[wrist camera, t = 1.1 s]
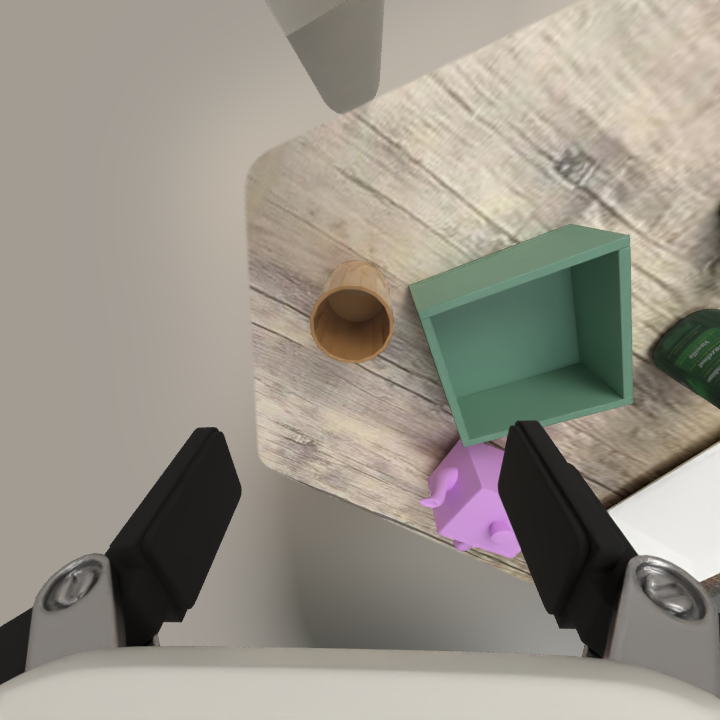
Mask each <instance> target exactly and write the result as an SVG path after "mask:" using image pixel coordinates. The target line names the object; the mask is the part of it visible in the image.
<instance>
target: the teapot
mask: <svg viewBox="0 0 720 720" xmlns="http://www.w3.org/2000/svg"><path fill="white" fill-rule="evenodd" d="M503 456H504V451H502V450H500V449H497V448H495V447H492V446H489V445H487V444H484V443H479V444H476V445H472V446H468V447H463V444H462V441H461V439H460V440H459V441H458V442H457V444H456V445H455V446H454V447H453V449H452V450H451V451H450V452H449V453H448V455H447V456H446V457H445V458H444V460H443V461H442V462H441V463H440V465H439V466H438V467H437V468H436V469H435V471H434V472H433V473H432V474H431V476H430V477H429V478H428V483H429V489H430V494H431V497H429V498H424V499H421V500H420V503H421V504H422V505H424V506H427V507H432V508H433V511H434V516H435V521H436V527H437V532H438V534H440V535H443V536H446V537H448V538H451V539H454V546H455V548H456V549H457V550H459V551H466V550H469V549H471V548H472V547H474V546H475V547H478V548H481V549H484V550H487V551H490V552H493V553H497V554H500V555H503V556H506V557H509V558H513V557H514V556H515V555H516V554H517V553H519V552H520V551H521V548H520V546H519V543H518V541H517V538H516V536H515V533H514V531H513V529H512V526H511V524H510V521H509V519H508V516H507V514H506V511H505V509H504V506H503V504H502V501H501V499H500V496H499V493H498V480H499V475H500V470H501V465H502V461H503Z"/></svg>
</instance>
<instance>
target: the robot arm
mask: <svg viewBox="0 0 720 720" xmlns="http://www.w3.org/2000/svg"><path fill="white" fill-rule="evenodd" d="M498 493H499V496H500V499H501V501H502V504H503V506H504V509H505V511H506V514H507V516H508V519H509V521H510V524H511V526H512V529H513V531H514V533H515V536H516V538H517V541H518V543H519V546H520V548H521V551H522V553H523V556H524V558H525V560H526V563H527V565H528V568H529V570H530V573H531V575H532V578H533V580H534V583H535V585H536V588H537V590H538V592H539V595H540V597H541V600H542V602H543V605H544V607H545V609H546V611H547V612H548V613H549V614H554V616H555V619H556V621H557V624H558V626H559V628H562V629H576V630H577V632H578V634H579V636H580V639H581V641H582V642H583V643H584V644H585V646H584V650H583V654H582V657H577V656H561V655H540V654H519V653H493V652H491V653H490V652H453V651H418V650H374V649H373V650H372V649H327V648H326V649H325V648H277V647H276V648H275V647H213V646H211V647H209V646H160V644H159V638H158V632H159V630H160V628H161V626H162V624H163V622H182V621H183V618H184V616H185V614H186V612H187V609H191V608H192V607H193V605H194V604H195V602H196V600H197V597H198V595H199V593H200V590H201V588H202V586H203V583H204V581H205V579H206V576H207V574H208V572H209V569H210V567H211V565H212V563H213V560H214V558H215V556H216V553H217V551H218V549H219V546H220V544H221V542H222V539H223V537H224V534H225V532H226V530H227V527H228V525H229V523H230V521H231V518H232V516H233V513H234V511H235V509H236V507H237V504H238V502H239V500H240V497H241V484H240V482H239V479H238V476H237V473H236V470H235V467H234V464H233V461H232V458H231V455H230V452H229V449H228V446H227V443H226V440H225V437H224V434H223V433H222V432H219V430H218V429H217V428H215V427H206V428H197V429H196V430H195V431H194V432H193V433H192V435H191V436H190V437H189V439H188V440H187V441H186V443H185V444H184V446H183V447H182V448H181V450H180V451H179V452H178V454H177V455H176V457H175V458H174V459H173V460H172V462H171V463H170V465H169V466H168V467H167V469H166V470H165V471H164V473H163V474H162V476H161V477H160V478H159V479H158V481H157V482H156V484H155V485H154V486H153V488H152V489H151V490H150V492H149V493H148V494H147V496H146V497H145V498H144V500H143V501H142V503H141V504H140V505H139V507H138V508H137V509H136V511H135V512H134V513H133V515H132V516H131V517H130V519H129V520H128V522H127V523H126V524H125V526H124V527H123V528H122V530H121V531H120V532H119V534H118V535H117V536H116V538H115V539H114V541H113V542H112V543H111V545H110V548H109V549H108V551H107V552H106V553H105V555H103V554H97V553H93V554H89V555H85V556H82V557H80V558H77V559H75V560H73V561H71V562H70V563H68V564H67V565H65V566H63V567H62V568H61V569H60V570H59V571H57V572H56V573H55V574H54V575H53V576H51V578H50V579H49V580H48V581H47V582H46V583H45V584H44V586H43V587H42V588H41V590H40V591H39V593H38V594H37V596H36V599H35V602H34V605H33V607H32V608H31V609H29V610H27V611H26V612H24V613H22V614H21V615H19V616H17V617H16V618H14V619H13V620H11V621H9V622H7V623H6V624H4V625H3V626H1V627H0V720H720V613H718V612H717V608H716V605H715V603H714V601H713V599H712V598H711V596H710V594H709V593H708V592H707V590H706V589H705V588H704V587H703V586H702V585H701V584H700V583H699V582H698V581H697V580H696V579H695V578H694V577H692V576H691V575H690V574H689V573H688V572H686V571H685V570H683V569H682V568H680V567H678V566H677V565H675V564H673V563H672V562H669V561H667V560H664V559H662V558H659V557H655V556H650V555H638V554H637V552H636V551H635V549H634V548H633V547H632V545H631V544H630V542H629V541H628V540H627V538H626V537H625V536H624V534H623V533H622V531H621V530H620V529H619V527H618V526H617V524H616V523H615V522H614V520H613V519H612V517H611V516H610V515H609V513H608V512H607V511H606V509H605V508H604V506H603V505H602V504H601V502H600V501H599V499H598V498H597V497H596V495H595V494H594V492H593V491H592V490H591V488H590V487H589V486H588V484H587V483H586V481H585V480H584V479H583V477H582V476H581V474H580V473H579V472H578V470H577V469H576V468H575V467H574V466H573V465H572V464H570V463H567V461H566V460H565V458H564V457H563V456H562V454H561V453H560V451H559V450H558V448H557V447H556V446H555V444H554V443H553V441H552V440H551V438H550V437H549V436H548V434H547V433H546V431H545V430H544V429H543V427H542V426H541V424H540V423H539V422H538V421H536V420H524V421H516V422H515V425H512V426H510V427H509V431H508V436H507V441H506V446H505V451H504V456H503V461H502V465H501V470H500V475H499V480H498Z"/></svg>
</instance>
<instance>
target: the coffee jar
mask: <svg viewBox="0 0 720 720" xmlns="http://www.w3.org/2000/svg"><path fill="white" fill-rule="evenodd" d="M653 361H654V363H655V365H656V366H657V367H658V368H659V369H661V370H662V371H663V372H665V373H666V374H668V375H669V376H671V377H672V378H673V379H675V380H676V381H678V382H679V383H681V384H682V385H684V386H685V387H687V388H688V389H690V390H692V391H693V392H694V393H696V394H698V395H699V396H701V397H702V398H704V399H705V400H707V401H708V402H710V403H711V404H713V405H714V406H716V407H717V408H719V409H720V310H718V309H703V310H700V311H697V312H695V313H693V314H691V315H689V316H687V317H686V318H684V319H683V320H681V321H680V322H678V323H677V324H676V325H675V326H673V327H672V328H671V329H670V330H669V331H668V332H667V333H666V334H665V335H664V336H663V337H662V338H661V340H660V342H659V343H658V345H657V346H656V348H655V350H654V354H653Z"/></svg>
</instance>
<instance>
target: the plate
mask: <svg viewBox="0 0 720 720" xmlns="http://www.w3.org/2000/svg"><path fill="white" fill-rule="evenodd" d="M606 511H607V512H608V513H609V515H610V516H611V517H612V519H613V520H614V522H615V523H616V524H617V526H618V527H619V529H620V530H621V531H622V533H623V534H624V536H625V537H626V538H627V540H628V541H629V542H630V544H631V545H632V547H633V548H634V549H635V551H636V552H637V554H638V555H650V556H655V557H659V558H662V559H664V560H667V561H669V562H672V563H673V564H675V565H677V566H678V567H680V568H682V569H683V570H685V571H686V572H688V573H689V574H690V575H691V576H692V577H694V578H695V579H696V580H697V581H698V582H701V581H703V580H705V579H707V578H710V577H712V576H714V575H716V574H719V573H720V441H718V442H717V443H715V444H714V445H712V446H710V447H709V448H707V449H705V450H704V451H702V452H700V453H699V454H697V455H696V456H694V457H692V458H691V459H689V460H687V461H686V462H684V463H683V464H681V465H679V466H678V467H676V468H674V469H673V470H671V471H669V472H668V473H666V474H665V475H663V476H661V477H660V478H658V479H656V480H655V481H653V482H651V483H650V484H648V485H647V486H645V487H643V488H642V489H640V490H638V491H637V492H635V493H634V494H632V495H630V496H629V497H627V498H625V499H624V500H622V501H620V502H619V503H617V504H616V505H614V506H612V507H611V508H609V509H607V510H606Z"/></svg>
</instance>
